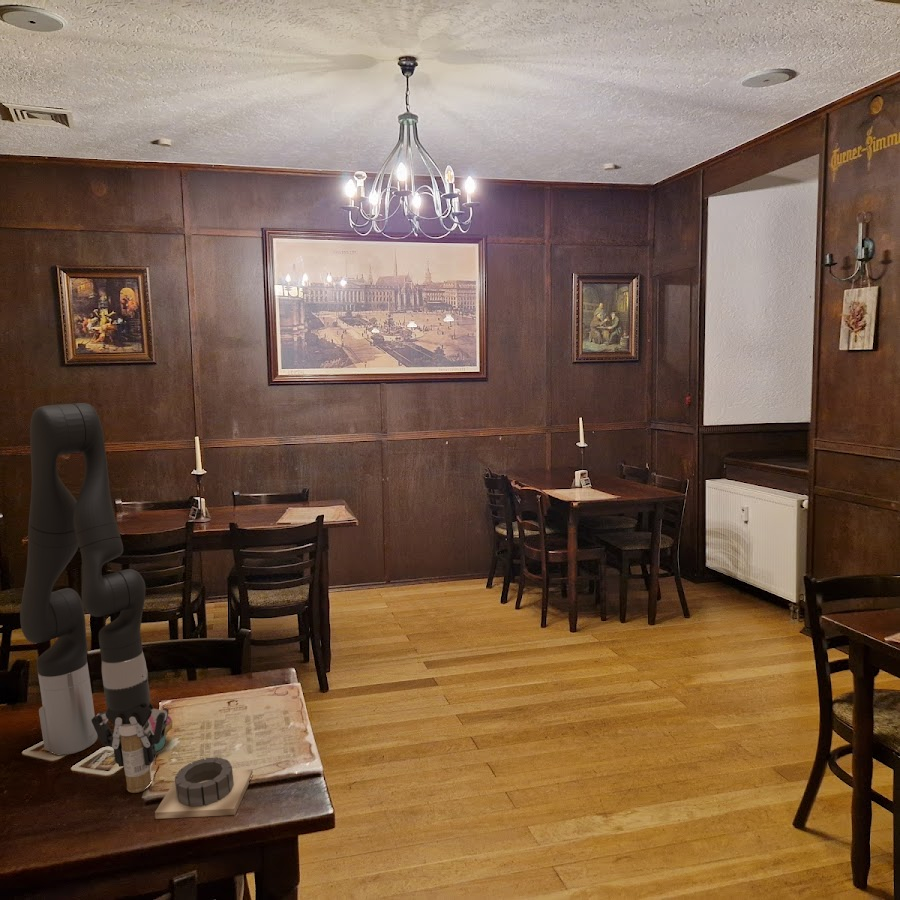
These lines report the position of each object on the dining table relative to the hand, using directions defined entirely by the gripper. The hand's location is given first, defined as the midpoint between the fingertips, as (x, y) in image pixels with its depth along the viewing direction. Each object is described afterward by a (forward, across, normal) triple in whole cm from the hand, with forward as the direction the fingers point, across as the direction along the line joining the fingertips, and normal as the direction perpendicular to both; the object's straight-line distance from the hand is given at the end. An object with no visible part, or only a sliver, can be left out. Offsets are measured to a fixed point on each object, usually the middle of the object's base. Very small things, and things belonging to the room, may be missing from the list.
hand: (136, 763), depth 141 cm
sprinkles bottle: (+5, 0, 0) cm, 5 cm away
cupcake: (+5, -3, +14) cm, 15 cm away
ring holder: (+5, +14, -4) cm, 15 cm away
